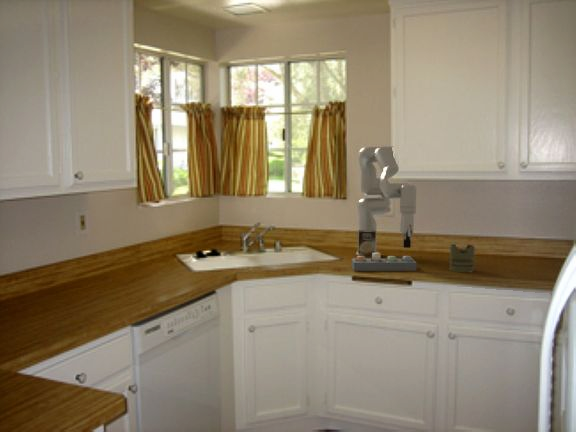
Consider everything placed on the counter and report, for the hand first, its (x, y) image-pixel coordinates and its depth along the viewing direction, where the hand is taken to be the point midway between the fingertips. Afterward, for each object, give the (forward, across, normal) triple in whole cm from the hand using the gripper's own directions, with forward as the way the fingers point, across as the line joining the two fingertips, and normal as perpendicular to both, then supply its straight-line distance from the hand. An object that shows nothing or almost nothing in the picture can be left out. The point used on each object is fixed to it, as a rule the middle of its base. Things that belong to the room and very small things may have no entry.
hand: (406, 247), depth 304 cm
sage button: (+9, 0, -7) cm, 11 cm away
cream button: (+7, 0, -15) cm, 17 cm away
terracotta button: (+9, 0, -22) cm, 24 cm away
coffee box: (+11, -20, -17) cm, 28 cm away
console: (+10, 0, -11) cm, 15 cm away
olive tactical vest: (+10, +5, +26) cm, 28 cm away
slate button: (+9, 0, 0) cm, 9 cm away
